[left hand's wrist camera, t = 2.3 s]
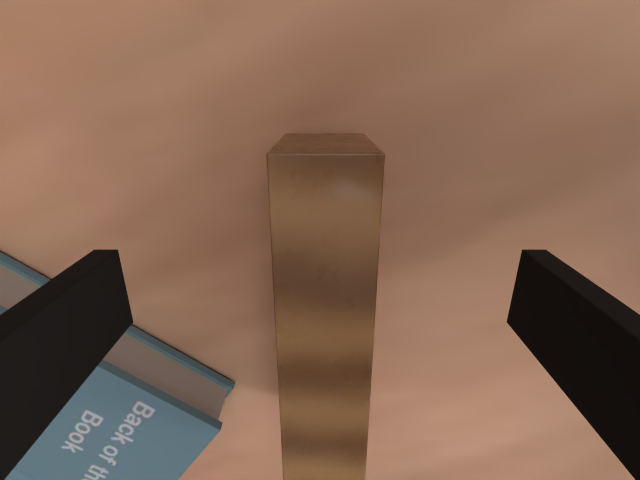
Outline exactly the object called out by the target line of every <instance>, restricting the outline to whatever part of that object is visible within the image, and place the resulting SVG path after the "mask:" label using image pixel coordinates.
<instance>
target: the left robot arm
mask: <svg viewBox="0 0 640 480" xmlns="http://www.w3.org/2000/svg"><path fill="white" fill-rule="evenodd" d="M132 323H133V319H132V314H131V309H130V305H129V300H128V295H127V291H126V286H125V281H124V276H123V272H122V267H121V262H120V258H119V253H118V250H93V251H92V252H90V253H89V254H87V255H86V256H85V257H83V258H82V259H80V260H79V261H77V262H76V263H74V264H73V265H72V266H70V267H69V268H67V269H66V270H64V271H63V272H61V273H60V274H59V275H57V276H56V277H54V278H53V279H51V280H50V281H48V282H47V283H46V284H44V285H43V286H41V287H40V288H38V289H37V290H35V291H34V292H33V293H31V294H30V295H28V296H27V297H25V298H24V299H22V300H21V301H20V302H18V303H17V304H15V305H14V306H12V307H11V308H9V309H8V310H7V311H5V312H4V313H2V314H1V315H0V480H5V478H6V477H7V476H8V475H9V474H10V472H11V471H12V470H13V469H14V467H15V466H16V465H17V464H18V463H19V461H20V460H21V459H22V458H23V456H24V455H25V454H26V453H27V452H28V450H29V449H30V448H31V447H32V445H33V444H34V443H35V442H36V441H37V439H38V438H39V437H40V436H41V434H42V433H43V432H44V431H45V429H46V428H47V427H48V426H49V425H50V423H51V422H52V421H53V420H54V418H55V417H56V416H57V415H58V414H59V412H60V411H61V410H62V409H63V407H64V406H65V405H66V404H67V403H68V401H69V400H70V399H71V398H72V396H73V395H74V394H75V393H76V392H77V390H78V389H79V388H80V387H81V385H82V384H83V383H84V382H85V381H86V379H87V378H88V377H89V376H90V374H91V373H92V372H93V371H94V369H95V368H96V367H97V366H98V365H99V363H100V362H101V361H102V360H103V358H104V357H105V356H106V355H107V354H108V352H109V351H110V350H111V349H112V347H113V346H114V345H115V344H116V343H117V341H118V340H119V339H120V338H121V336H122V335H123V334H124V333H125V332H126V330H127V329H128V328H129V327H130V325H131V324H132ZM507 323H508V324H509V325H510V327H511V328H512V329H513V330H514V332H515V333H516V334H517V335H518V336H519V338H520V339H521V340H522V341H523V343H524V344H525V345H526V346H527V347H528V349H529V350H530V351H531V352H532V354H533V355H534V356H535V357H536V358H537V360H538V361H539V362H540V363H541V365H542V366H543V367H544V368H545V369H546V371H547V372H548V373H549V374H550V376H551V377H552V378H553V379H554V381H555V382H556V383H557V384H558V385H559V387H560V388H561V389H562V390H563V392H564V393H565V394H566V395H567V396H568V398H569V399H570V400H571V401H572V403H573V404H574V405H575V406H576V407H577V409H578V410H579V411H580V412H581V414H582V415H583V416H584V417H585V418H586V420H587V421H588V422H589V423H590V425H591V426H592V427H593V428H594V429H595V431H596V432H597V433H598V434H599V436H600V437H601V438H602V439H603V441H604V442H605V443H606V444H607V445H608V447H609V448H610V449H611V450H612V452H613V453H614V454H615V455H616V456H617V458H618V459H619V460H620V461H621V463H622V464H623V465H624V466H625V467H626V469H627V470H628V471H629V472H630V474H631V475H632V476H633V477H634V478H635V480H640V315H639V314H638V313H636V312H635V311H633V310H632V309H631V308H629V307H628V306H626V305H625V304H623V303H622V302H620V301H619V300H618V299H616V298H615V297H613V296H612V295H610V294H609V293H607V292H606V291H605V290H603V289H602V288H600V287H599V286H597V285H596V284H594V283H593V282H592V281H590V280H589V279H587V278H586V277H584V276H583V275H581V274H580V273H579V272H577V271H576V270H574V269H573V268H571V267H570V266H568V265H567V264H566V263H564V262H563V261H561V260H560V259H558V258H557V257H555V256H554V255H553V254H551V253H550V252H548V251H547V250H522V253H521V258H520V262H519V267H518V272H517V276H516V281H515V286H514V291H513V295H512V300H511V305H510V309H509V314H508V319H507Z"/></svg>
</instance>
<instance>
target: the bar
mask: <svg viewBox="0 0 640 480" xmlns="http://www.w3.org/2000/svg"><path fill="white" fill-rule="evenodd" d="M384 160H385V154H384V153H383V152H382V151H381V150H380V149H379V148H378V147H377V146H376V145H375V144H374V143H373V142H372V141H371V140H370V139H369V138H368V137H366V136H365V135H364V134H285V135H284V136H283V137H282V138H281V139H280V141H279V142H278V143H277V144H276V145H275V146H274V147H273V148H272V149H271V150H270V151H269V152H268V153H267V171H268V190H269V210H270V229H271V249H272V269H273V288H274V308H275V327H276V347H277V366H278V386H279V405H280V425H281V444H282V464H283V480H365V474H366V458H367V441H368V425H369V408H370V392H371V375H372V359H373V342H374V325H375V309H376V292H377V276H378V259H379V243H380V226H381V210H382V193H383V177H384Z"/></svg>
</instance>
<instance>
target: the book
mask: <svg viewBox="0 0 640 480" xmlns="http://www.w3.org/2000/svg"><path fill="white" fill-rule="evenodd" d="M48 281H50V279H48V278H46V277H44V276H43V275H41V274H39V273H37V272H35V271H34V270H32V269H30V268H28V267H26V266H25V265H23V264H21V263H19V262H17V261H16V260H14V259H12V258H10V257H9V256H7V255H5V254H3V253H1V252H0V315H1V314H2V313H4V312H5V311H7V310H8V309H9V308H11V307H12V306H14V305H15V304H17V303H18V302H20V301H21V300H22V299H24V298H25V297H27V296H28V295H30V294H31V293H33V292H34V291H35V290H37V289H38V288H40V287H41V286H43V285H44V284H46V283H47V282H48ZM234 384H235V383H234V382H232V381H230V380H229V379H227V378H225V377H223V376H222V375H220V374H218V373H216V372H214V371H213V370H211V369H209V368H207V367H205V366H204V365H202V364H200V363H198V362H196V361H195V360H193V359H191V358H189V357H188V356H186V355H184V354H182V353H180V352H179V351H177V350H175V349H173V348H171V347H170V346H168V345H166V344H164V343H162V342H161V341H159V340H157V339H155V338H153V337H152V336H150V335H148V334H146V333H145V332H143V331H141V330H139V329H137V328H136V327H134V326H132V325H130V327H129V328H128V329H127V330H126V332H125V333H124V334H123V335H122V336H121V338H120V339H119V340H118V341H117V343H116V344H115V345H114V346H113V347H112V349H111V350H110V351H109V352H108V354H107V355H106V356H105V357H104V358H103V360H102V361H101V362H100V363H99V365H98V366H97V367H96V368H95V369H94V371H93V372H92V373H91V374H90V376H89V377H88V378H87V379H86V381H85V382H84V383H83V384H82V385H81V387H80V388H79V389H78V390H77V392H76V393H75V394H74V395H73V396H72V398H71V399H70V400H69V401H68V403H67V404H66V405H65V406H64V407H63V409H62V410H61V411H60V412H59V414H58V415H57V416H56V417H55V418H54V420H53V421H52V422H51V423H50V425H49V426H48V427H47V428H46V429H45V431H44V432H43V433H42V434H41V436H40V437H39V438H38V439H37V441H36V442H35V443H34V444H33V445H32V447H31V448H30V449H29V450H28V452H27V453H26V454H25V455H24V456H23V458H22V459H21V460H20V461H19V463H18V464H17V465H16V466H15V467H14V469H13V470H12V471H11V472H10V474H9V475H8V476H7V477H6V478H5V480H178V479H179V478H180V477H181V475H182V474H183V473H184V472H185V471H186V470H187V468H188V467H189V466H190V465H191V464H192V463H193V461H194V460H195V459H196V458H197V457H198V456H199V454H200V453H201V452H202V451H203V450H204V449H205V447H206V446H207V445H208V444H209V443H210V442H211V440H212V439H213V438H214V437H215V436H216V435H217V433H218V432H219V431H220V430H221V426H222V422H220V421H218V418H219V415H220V412H221V409H222V406H223V403H224V400H225V398H226V397H227V395H228V394H229V393H230V392H231V391H232V389H233V387H234Z"/></svg>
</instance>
